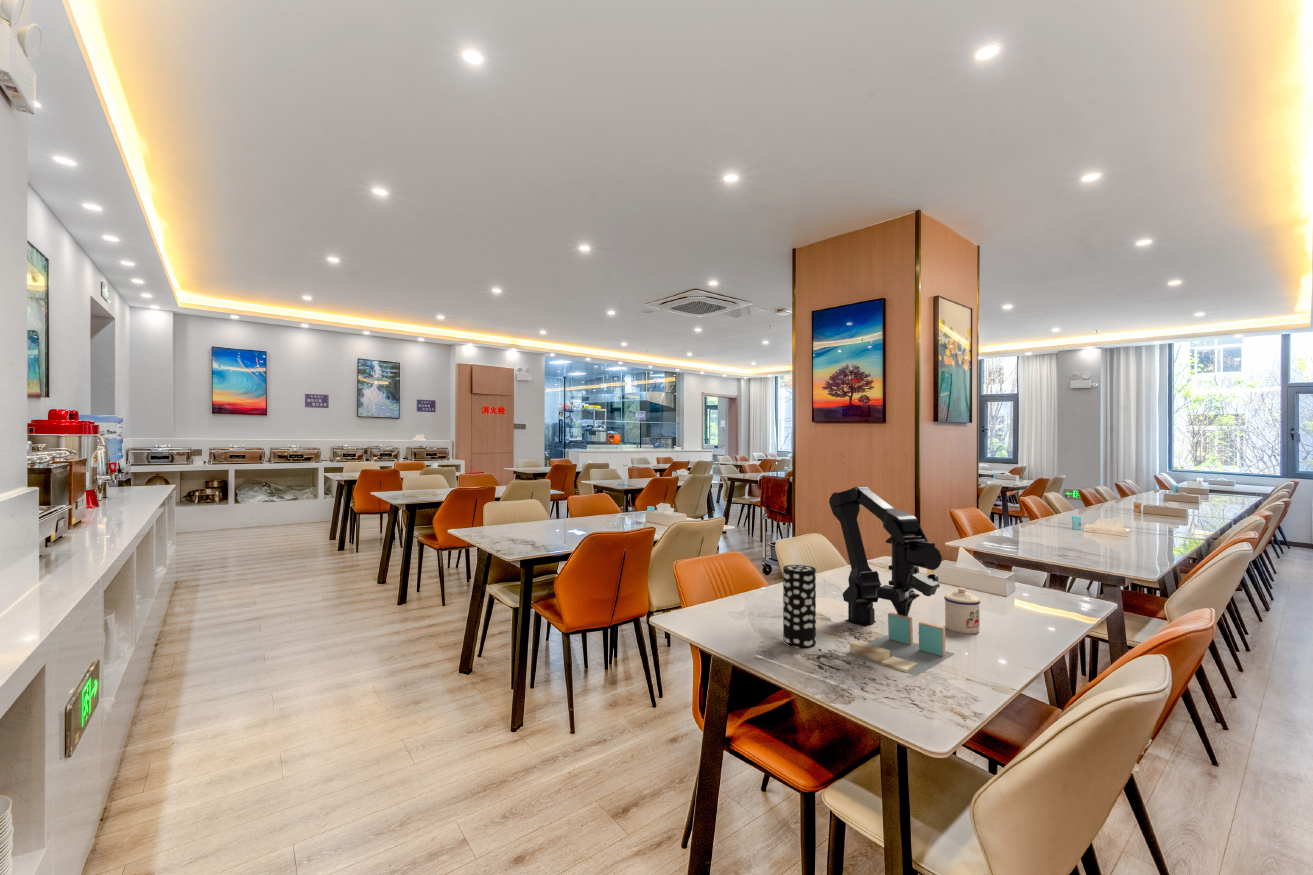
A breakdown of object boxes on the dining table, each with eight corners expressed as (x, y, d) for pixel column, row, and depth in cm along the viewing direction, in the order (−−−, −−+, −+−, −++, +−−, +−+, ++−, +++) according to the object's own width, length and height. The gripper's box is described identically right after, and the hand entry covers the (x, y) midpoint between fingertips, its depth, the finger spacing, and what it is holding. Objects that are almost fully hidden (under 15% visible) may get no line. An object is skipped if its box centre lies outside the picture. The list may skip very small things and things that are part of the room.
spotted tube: (818, 641, 151) (818, 566, 152) (813, 651, 144) (812, 572, 144) (787, 637, 155) (786, 563, 155) (780, 646, 147) (780, 569, 148)
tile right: (918, 650, 144) (917, 622, 144) (920, 649, 145) (920, 621, 145) (942, 657, 139) (942, 628, 139) (945, 655, 140) (945, 627, 140)
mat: (844, 655, 142) (844, 653, 142) (886, 636, 155) (886, 635, 155) (916, 677, 128) (916, 675, 128) (955, 655, 142) (955, 653, 142)
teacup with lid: (972, 636, 155) (971, 594, 155) (938, 628, 162) (938, 587, 163) (990, 628, 163) (989, 587, 163) (957, 620, 170) (957, 581, 170)
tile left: (887, 639, 152) (887, 613, 152) (890, 638, 153) (890, 612, 153) (910, 645, 147) (909, 618, 147) (912, 643, 148) (912, 617, 148)
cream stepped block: (847, 653, 141) (846, 644, 141) (858, 648, 145) (858, 639, 145) (906, 672, 130) (906, 661, 130) (917, 665, 134) (917, 655, 134)
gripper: (917, 572, 139) (918, 636, 139) (949, 562, 152) (949, 620, 151) (874, 565, 148) (875, 625, 147) (907, 556, 160) (908, 611, 160)
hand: (903, 621), depth 151 cm, fingers closed
